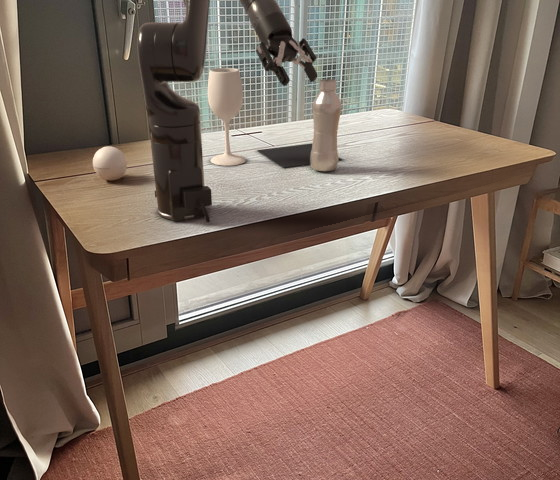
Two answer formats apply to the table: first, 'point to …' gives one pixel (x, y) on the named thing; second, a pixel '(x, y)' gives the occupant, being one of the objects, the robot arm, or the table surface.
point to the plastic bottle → (325, 127)
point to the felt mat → (290, 155)
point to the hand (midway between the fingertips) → (301, 81)
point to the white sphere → (109, 163)
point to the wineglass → (225, 106)
